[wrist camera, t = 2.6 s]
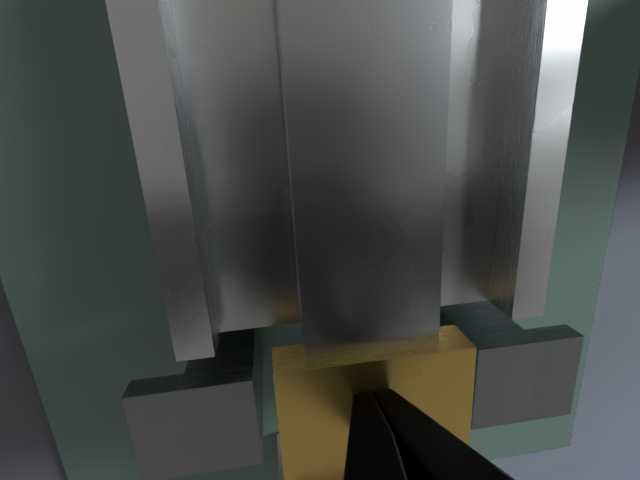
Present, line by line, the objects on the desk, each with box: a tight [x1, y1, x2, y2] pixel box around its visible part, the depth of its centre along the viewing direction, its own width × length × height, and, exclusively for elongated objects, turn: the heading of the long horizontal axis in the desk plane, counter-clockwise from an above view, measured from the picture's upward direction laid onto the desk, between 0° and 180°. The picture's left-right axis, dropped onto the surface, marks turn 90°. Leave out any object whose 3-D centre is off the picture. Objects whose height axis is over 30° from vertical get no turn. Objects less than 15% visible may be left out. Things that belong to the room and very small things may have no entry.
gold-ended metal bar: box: [272, 0, 477, 480], centre depth 7 cm, size 4×18×2 cm, turn 3°
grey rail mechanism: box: [105, 0, 588, 480], centre depth 8 cm, size 11×18×6 cm, turn 3°
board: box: [0, 0, 640, 480], centre depth 12 cm, size 20×26×1 cm
